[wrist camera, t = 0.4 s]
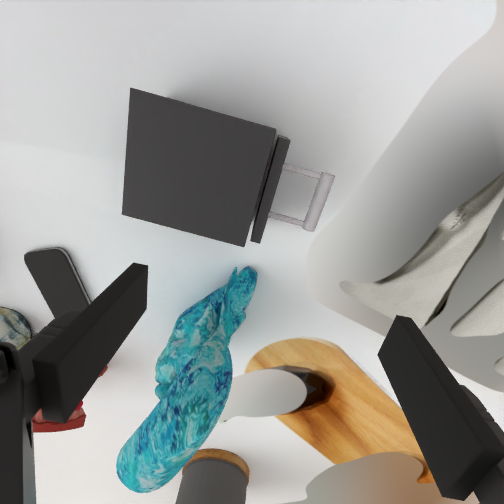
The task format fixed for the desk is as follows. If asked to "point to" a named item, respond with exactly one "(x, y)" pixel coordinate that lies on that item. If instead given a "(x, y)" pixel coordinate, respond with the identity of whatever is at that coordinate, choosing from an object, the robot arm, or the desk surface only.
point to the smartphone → (57, 280)
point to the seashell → (13, 328)
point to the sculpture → (188, 387)
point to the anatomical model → (51, 426)
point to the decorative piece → (214, 479)
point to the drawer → (271, 186)
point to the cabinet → (193, 167)
